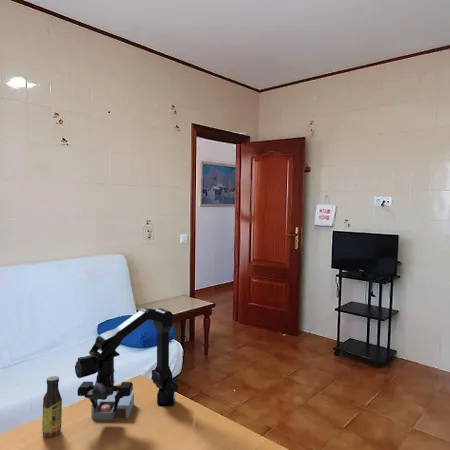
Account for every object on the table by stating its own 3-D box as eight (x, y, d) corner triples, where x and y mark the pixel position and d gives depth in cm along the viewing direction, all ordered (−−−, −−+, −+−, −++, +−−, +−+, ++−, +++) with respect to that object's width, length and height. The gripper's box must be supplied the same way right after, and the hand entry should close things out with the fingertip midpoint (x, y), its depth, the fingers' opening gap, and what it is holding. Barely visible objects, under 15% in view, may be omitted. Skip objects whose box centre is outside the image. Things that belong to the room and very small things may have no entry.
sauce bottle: (54, 439, 134) (54, 383, 133) (38, 437, 135) (38, 381, 134) (65, 428, 140) (65, 375, 139) (50, 426, 142) (50, 373, 140)
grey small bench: (133, 405, 157) (134, 392, 157) (128, 419, 147) (128, 405, 147) (99, 405, 157) (99, 392, 157) (91, 419, 147) (91, 405, 147)
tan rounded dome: (111, 410, 142) (111, 404, 142) (108, 415, 139) (108, 409, 139) (102, 410, 142) (102, 404, 142) (99, 415, 139) (99, 409, 139)
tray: (117, 409, 145) (117, 401, 145) (111, 421, 137) (111, 412, 137) (99, 408, 145) (100, 401, 145) (93, 420, 137) (93, 412, 137)
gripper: (71, 379, 132) (71, 423, 133) (126, 380, 132) (126, 424, 133) (82, 365, 143) (82, 406, 144) (133, 366, 143) (133, 407, 144)
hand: (105, 411), depth 141 cm, fingers closed on tray, 6 cm apart
